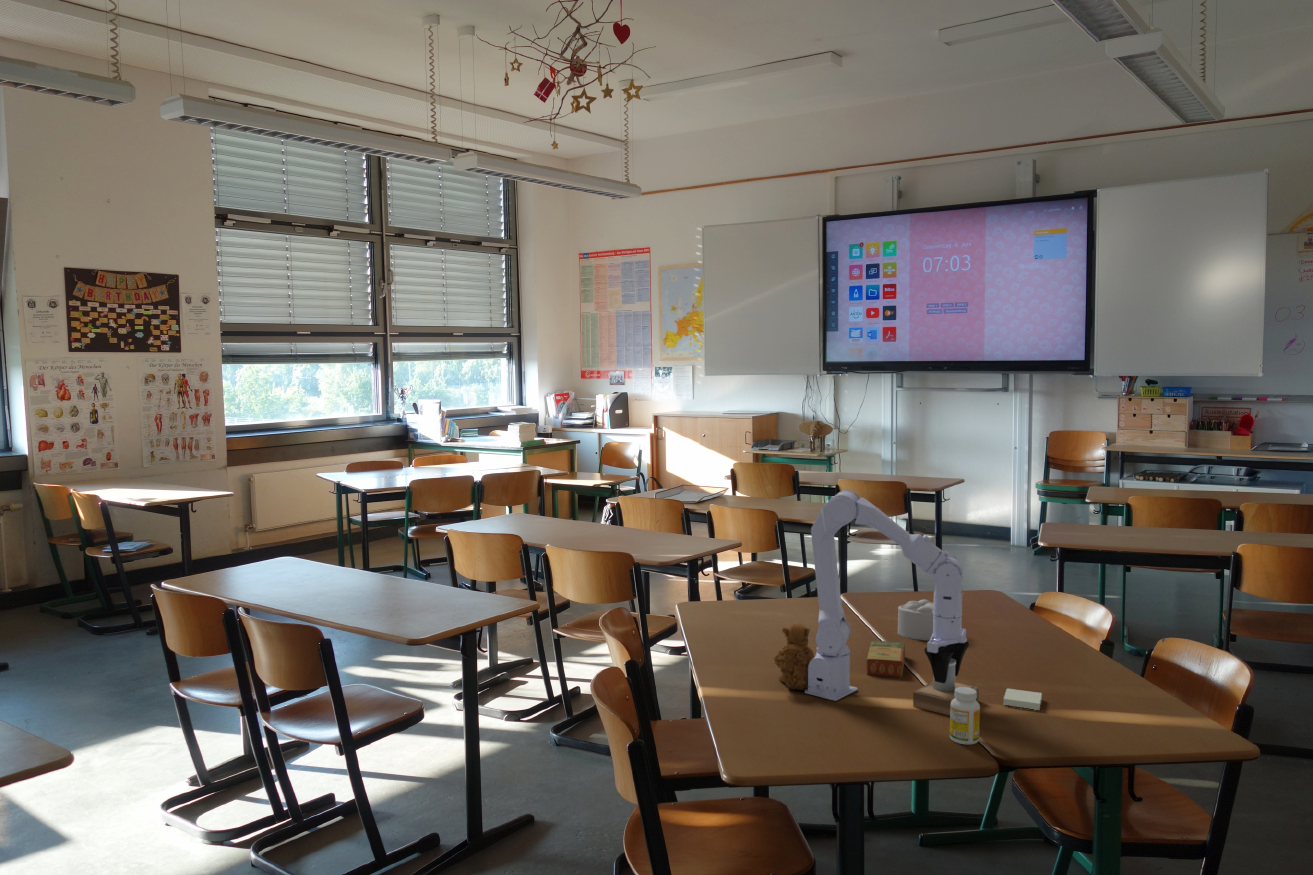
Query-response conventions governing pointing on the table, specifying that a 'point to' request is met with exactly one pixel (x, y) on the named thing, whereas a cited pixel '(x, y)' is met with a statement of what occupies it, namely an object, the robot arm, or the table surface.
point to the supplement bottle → (964, 716)
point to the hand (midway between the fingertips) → (946, 678)
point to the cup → (950, 680)
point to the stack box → (937, 698)
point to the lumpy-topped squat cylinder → (916, 620)
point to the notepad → (1022, 699)
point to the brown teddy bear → (795, 657)
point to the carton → (886, 658)
